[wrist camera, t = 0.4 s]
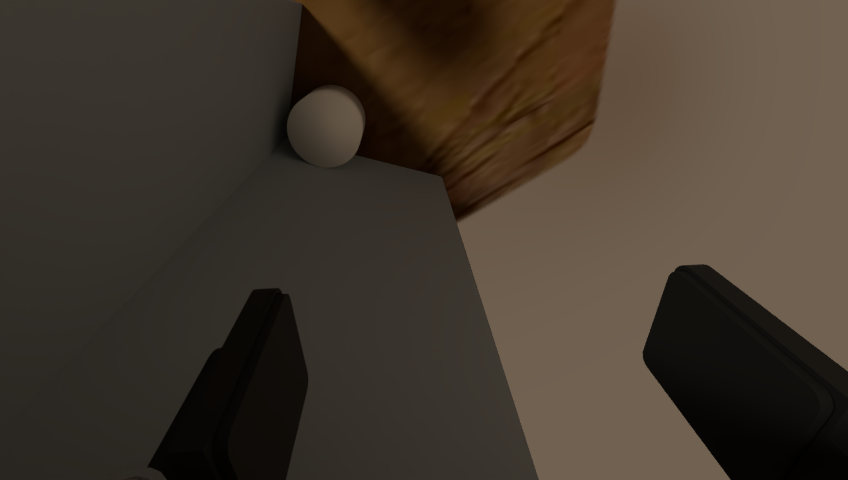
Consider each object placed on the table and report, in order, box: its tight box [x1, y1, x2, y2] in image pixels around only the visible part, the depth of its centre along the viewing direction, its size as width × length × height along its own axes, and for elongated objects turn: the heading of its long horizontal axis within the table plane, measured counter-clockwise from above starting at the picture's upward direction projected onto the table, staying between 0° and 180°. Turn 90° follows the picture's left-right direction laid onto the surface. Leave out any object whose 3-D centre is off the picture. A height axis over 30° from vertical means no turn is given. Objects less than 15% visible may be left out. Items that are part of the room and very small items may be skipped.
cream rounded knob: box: [287, 85, 365, 168], centre depth 32 cm, size 6×6×6 cm
